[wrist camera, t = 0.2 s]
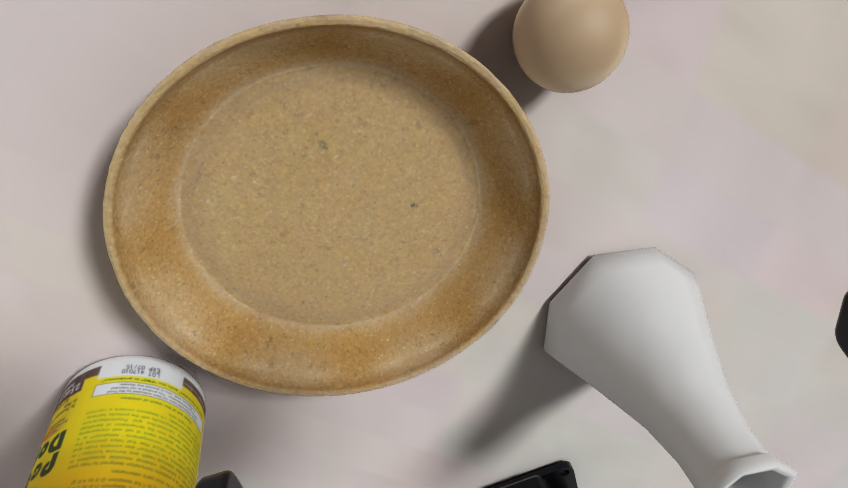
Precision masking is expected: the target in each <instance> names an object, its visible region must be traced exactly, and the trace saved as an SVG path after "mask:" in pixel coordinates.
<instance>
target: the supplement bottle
mask: <svg viewBox="0 0 848 488" xmlns="http://www.w3.org/2000/svg"><path fill="white" fill-rule="evenodd" d="M205 412H206V403H205V398H204V394H203V392H202V390H201V388H200V386H199V384H198V383H197V382H196V380H195V379H194V378H193V377H192V376H191V375H190V374H189V373H187V372H186V371H185V370H183V369H182V368H180V367H178V366H176V365H175V364H172V363H170V362H167V361H164V360H161V359H158V358H153V357H147V356H119V357H113V358H109V359H105V360H102V361H99V362H96V363H94V364H92V365H90V366H88V367H86V368H85V369H83V370H81V371H80V372H79V373H78V374H76V375H75V376H74V377H73V378H72V379H71V380H70V382H69V383H68V384H67V386H66V387H65V389H64V391H63V393H62V395H61V397H60V400H59V402H58V405H57V407H56V409H55V412H54V414H53V417H52V420H51V423H50V425H49V428H48V430H47V433H46V435H45V438H44V440H43V443H42V446H41V448H40V451H39V453H38V456H37V458H36V461H35V463H34V466H33V469H32V472H31V474H30V476H29V479H28V482H27V484H26V487H25V488H195V486H196V484H197V478H198V471H199V462H200V454H201V446H202V438H203V429H204V421H205Z"/></svg>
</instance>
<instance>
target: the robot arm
mask: <svg viewBox="0 0 848 488" xmlns="http://www.w3.org/2000/svg"><path fill="white" fill-rule="evenodd" d="M835 336H836V340H837V342H838V344H839V346H840V348H841V349H842V351H843V352H844V353H845V355H846V356H847V357H848V292H847V293H846V294H845V296H844V298H843V302H842V305H841V309H840V313H839V317H838V320H837V324H836V328H835ZM195 488H243V487H242V485H241V484H240V482H239V480H238V479H237V477H236V476H235V474H234V473H233V472H231V471H223V472H219V473H216V474H212V475H209V476H206V477H204V478H202V479H201V480H200V481H199V482H198V483H197V484H196V486H195ZM490 488H578V487H577V483H576V478H575V474H574V470H573V468H572V466H571V464H570V462H568V461H563V462H559V463H557V464H554V465H551V466H548V467H545V468H543V469H540V470H537V471H534V472H531V473H529V474H526V475H523V476H520V477H517V478H515V479H512V480H509V481H506V482H504V483H501V484H498V485H495V486H492V487H490Z"/></svg>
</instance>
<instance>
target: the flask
mask: <svg viewBox="0 0 848 488" xmlns="http://www.w3.org/2000/svg"><path fill="white" fill-rule="evenodd" d="M543 350H544V351H545V352H547V353H548V354H549V355H550V356H552V357H553V358H554V359H556V360H557V361H558V362H560V363H561V364H562V365H564V366H565V367H566V368H568V369H569V370H570V371H572V372H573V373H575V374H576V375H577V376H579V377H580V378H581V379H583V380H584V381H586V382H587V383H588V384H590V385H591V386H592V387H594V388H595V389H597V390H598V391H599V392H600V393H602V394H603V395H604V396H605V397H607V398H608V399H609V400H610V401H612V402H613V403H614V404H616V405H617V406H618V407H619V408H621V409H622V410H623V411H624V412H626V413H627V414H628V415H629V416H631V417H632V418H633V419H634V420H636V421H637V422H638V423H639V424H641V425H642V426H643V427H645V428H646V429H647V430H648V431H649V432H650V434H651V435H652V436H653V437H654V438H655V439H656V440H657V441H658V442H659V443H660V444H661V445H662V446H663V447H664V449H665V450H666V451H667V452H668V453H669V454H670V455H671V456H672V457H673V458H674V459H675V460H676V461H677V463H678V464H679V465H680V467H681V468H682V470H683V471H684V473H685V474H686V476H687V477H688V479H689V480H690V482H691V483H692V485H693V486H694V488H791V486H792V484H793V482H794V480H795V478H796V477H797V475H798V474H797V472H796V471H795V470H794V468H793V467H791V466H790V465H789V464H788V463H786V462H784V461H782V460H780V459H777V458H775V457H773V456H771V455H770V454H769V452H768V451H767V450H766V448H765V447H764V446H763V445H762V443H761V442H760V441H759V439H758V438H757V437H756V435H755V434H754V433H753V432H752V430H751V429H750V427H749V425H748V423H747V421H746V420H745V418H744V416H743V414H742V412H741V410H740V408H739V406H738V404H737V403H736V401H735V399H734V397H733V395H732V393H731V391H730V389H729V387H728V384H727V381H726V378H725V375H724V372H723V368H722V365H721V362H720V359H719V356H718V353H717V350H716V347H715V344H714V340H713V337H712V334H711V331H710V327H709V323H708V320H707V316H706V312H705V309H704V305H703V301H702V297H701V294H700V290H699V287H698V283H697V280H696V277H695V274H694V272H692V271H691V270H689V269H688V268H686V267H685V266H683V265H682V264H680V263H679V262H677V261H675V260H674V259H672V258H671V257H669V256H668V255H666V254H665V253H663V252H662V251H660V250H659V249H657V248H656V247H654V248H646V249H639V250H631V251H623V252H615V253H607V254H599V255H593V256H592V258H591V259H590V260H589V261H588V262H587V263H586V264H585V265H584V266H583V267H582V268H581V269H580V270H579V271H578V273H577V274H576V275H575V276H574V277H573V278H572V279H571V280H570V281H569V282H568V283H567V284H566V285H565V287H564V288H563V289H562V290H561V291H560V292H559V293H558V294H557V295H556V296H555V297H554V298H553V299H552V301H551V302H550V304H549V312H548V319H547V327H546V334H545V341H544V349H543Z"/></svg>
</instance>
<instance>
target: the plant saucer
mask: <svg viewBox="0 0 848 488" xmlns="http://www.w3.org/2000/svg"><path fill="white" fill-rule="evenodd" d="M548 212H549V185H548V179H547V170H546V166H545V160H544V157H543V155H542V151H541V148H540V144H539V141H538V139H537V137H536V135H535V132H534V130H533V128H532V126H531V124H530V122H529V120H528V119H527V117H526V115H525V113H524V111H523V110H522V109H521V107H520V105H519V104H518V102H517V101H516V99H515V98H514V97H513V96H512V94H511V93H510V92H509V90H508V89H507V88H506V87H505V86H504V85H503V84H502V83H501V82H500V81H499V80H498V79H497V78H496V77H495V76H494V75H493V74H492V73H491V72H490V71H489V70H488V69H487V68H486V67H485V66H484V65H482V64H481V63H480V62H479V61H477V60H476V59H475V58H473V57H472V56H470V55H469V54H468V53H466V52H464V51H463V50H461V49H459V48H458V47H456V46H455V45H453V44H451V43H449V42H447V41H445V40H443V39H441V38H439V37H437V36H435V35H432V34H430V33H427V32H425V31H422V30H420V29H417V28H414V27H412V26H409V25H404V24H401V23H397V22H392V21H388V20H383V19H378V18H372V17H365V16H356V15H320V16H310V17H302V18H294V19H288V20H282V21H277V22H273V23H269V24H265V25H262V26H259V27H255V28H252V29H248V30H245V31H243V32H240V33H237V34H234V35H232V36H231V37H228V38H226V39H223V40H221V41H218V42H216V43H214V44H213V45H211V46H209V47H207V48H206V49H204V50H202V51H200V52H198V53H197V54H196V55H194V56H193V57H191V58H190V59H188V60H187V61H186V62H184V63H183V64H182V65H180V66H179V67H177V68H176V69H175V70H174V71H173V72H172V73H171V74H170V75H169V76H168V77H166V78H165V79H164V80H163V81H162V82H161V83H160V84H159V85H158V86H157V87H156V88H155V89H154V90H153V91H152V92H151V93H150V94H149V95H148V97H147V98H146V99H145V100H144V102H143V103H142V104H141V105H140V106H139V107H138V108H137V110H136V112H135V114H134V115H133V117H132V118H131V120H130V121H129V123H128V125H127V127H126V128H125V130H124V131H123V133H122V135H121V137H120V140H119V143H118V145H117V147H116V149H115V152H114V154H113V157H112V160H111V163H110V166H109V172H108V175H107V179H106V183H105V191H104V199H103V220H102V221H103V231H104V237H105V242H106V247H107V252H108V256H109V259H110V261H111V263H112V268H113V270H114V273H115V276H116V278H117V280H118V283H119V285H120V286H121V288H122V290H123V293H124V295H125V296H126V298H127V299H128V301H129V302H130V304H131V306H132V307H133V309H134V310H135V311H136V313H137V314H138V315H139V317H140V318H141V319H142V320H143V321H144V322H145V323H146V324H147V325H148V327H149V328H150V329H151V330H152V332H153V333H154V334H155V335H156V336H158V337H159V338H160V339H161V340H162V341H163V342H164V343H165V344H166V345H167V346H169V347H171V348H172V349H173V350H174V351H176V352H177V353H178V354H180V355H181V356H182V357H184V358H186V359H187V360H189V361H190V362H192V363H194V364H195V365H197V366H199V367H201V368H202V369H204V370H206V371H209V372H211V373H213V374H215V375H217V376H219V377H222V378H224V379H227V380H230V381H232V382H235V383H237V384H241V385H244V386H246V387H250V388H253V389H259V390H262V391H267V392H272V393H279V394H286V395H301V396H338V395H346V394H355V393H360V392H364V391H371V390H374V389H380V388H384V387H387V386H390V385H394V384H397V383H400V382H403V381H406V380H409V379H411V378H414V377H416V376H418V375H420V374H423V373H425V372H427V371H429V370H430V369H433V368H435V367H437V366H439V365H441V364H443V363H445V362H446V361H448V360H449V359H451V358H453V357H454V356H456V355H457V354H459V353H461V352H462V351H463V350H464V349H466V348H467V347H468V346H470V345H471V344H473V343H474V342H475V341H477V340H478V339H479V338H480V337H481V336H483V335H484V334H485V333H486V332H487V331H488V330H489V329H491V328H492V327H493V326H494V325H495V324H496V323H497V322H498V321H499V319H500V318H501V317H502V315H503V314H504V313H505V312H506V311H507V309H508V308H509V307H510V306H511V305H512V304H513V302H514V301H515V299H516V298H517V297H518V295H519V294H520V292H521V291H522V289H523V287H524V285H525V284H526V281H527V280H528V278H529V277H530V274H531V272H532V270H533V268H534V265H535V263H536V261H537V259H538V256H539V253H540V250H541V246H542V243H543V240H544V235H545V230H546V226H547V221H548Z"/></svg>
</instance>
